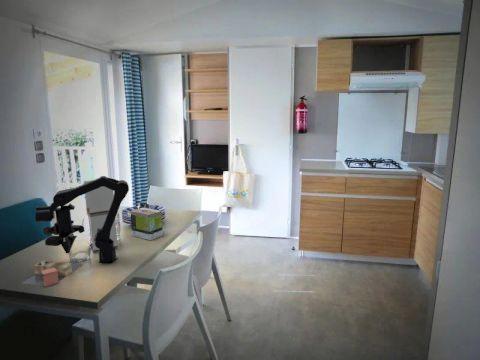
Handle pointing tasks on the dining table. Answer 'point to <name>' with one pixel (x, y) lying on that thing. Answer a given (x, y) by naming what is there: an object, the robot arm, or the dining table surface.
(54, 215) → the robot arm
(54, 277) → the keeper
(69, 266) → the link
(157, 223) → the tea box
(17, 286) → the dining table surface
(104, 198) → the tall white box
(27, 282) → the base plate
